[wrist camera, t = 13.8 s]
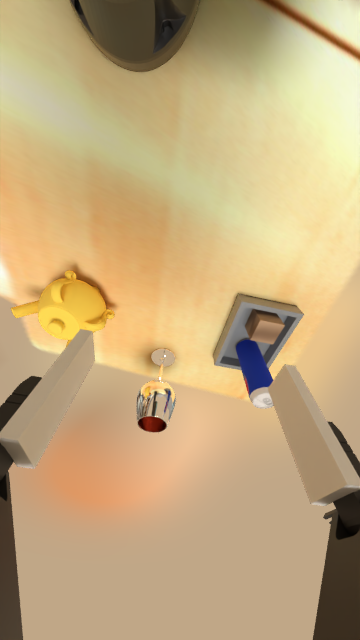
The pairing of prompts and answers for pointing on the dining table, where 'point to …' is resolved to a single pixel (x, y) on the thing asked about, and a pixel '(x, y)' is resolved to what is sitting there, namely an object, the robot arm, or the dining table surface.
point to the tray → (237, 332)
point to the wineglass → (156, 397)
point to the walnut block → (264, 326)
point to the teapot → (68, 308)
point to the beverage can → (255, 373)
